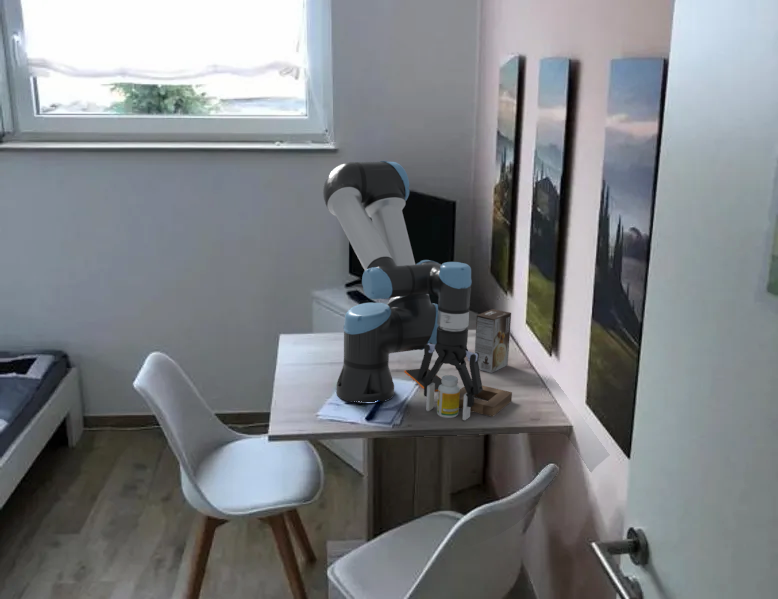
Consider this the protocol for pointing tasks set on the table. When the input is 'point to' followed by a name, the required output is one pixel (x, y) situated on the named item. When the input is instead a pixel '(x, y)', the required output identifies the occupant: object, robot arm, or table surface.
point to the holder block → (491, 407)
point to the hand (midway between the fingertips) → (447, 413)
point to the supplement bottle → (448, 397)
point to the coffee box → (492, 339)
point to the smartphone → (436, 380)
